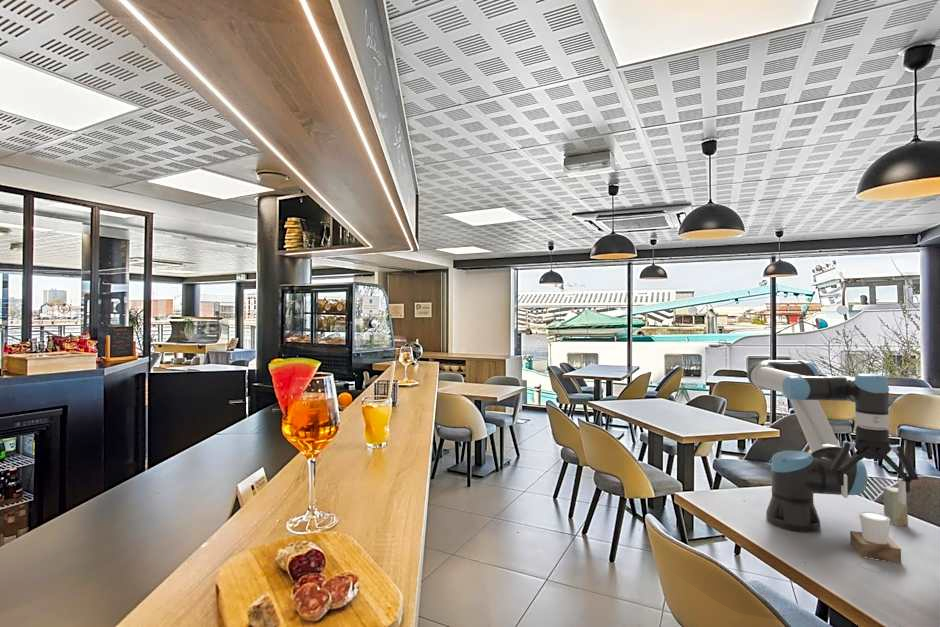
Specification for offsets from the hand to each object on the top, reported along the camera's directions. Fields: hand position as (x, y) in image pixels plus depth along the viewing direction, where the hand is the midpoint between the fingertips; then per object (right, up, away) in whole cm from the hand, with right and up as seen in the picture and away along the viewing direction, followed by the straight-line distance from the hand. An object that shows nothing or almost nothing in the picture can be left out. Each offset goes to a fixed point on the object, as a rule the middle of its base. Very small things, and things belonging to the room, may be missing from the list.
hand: (872, 499), depth 141 cm
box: (+25, -16, +21) cm, 36 cm away
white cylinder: (0, -12, -1) cm, 12 cm away
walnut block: (0, -15, -1) cm, 15 cm away
